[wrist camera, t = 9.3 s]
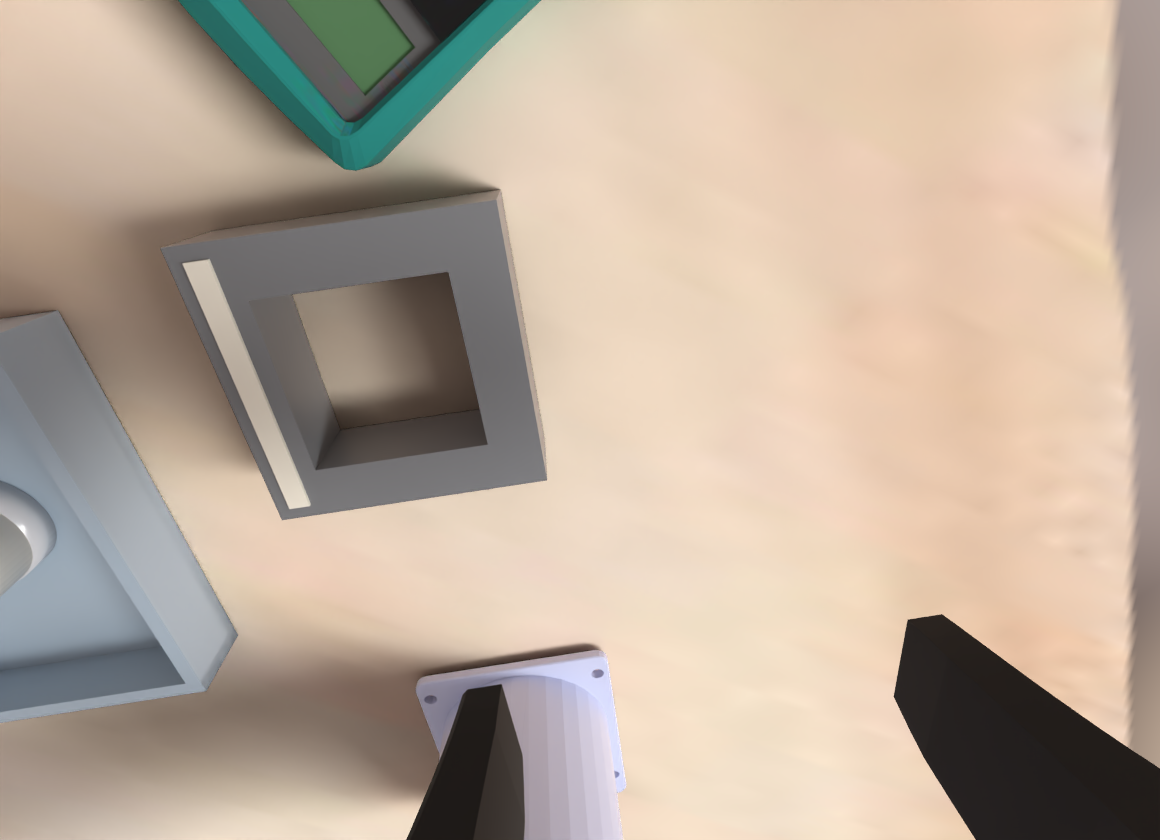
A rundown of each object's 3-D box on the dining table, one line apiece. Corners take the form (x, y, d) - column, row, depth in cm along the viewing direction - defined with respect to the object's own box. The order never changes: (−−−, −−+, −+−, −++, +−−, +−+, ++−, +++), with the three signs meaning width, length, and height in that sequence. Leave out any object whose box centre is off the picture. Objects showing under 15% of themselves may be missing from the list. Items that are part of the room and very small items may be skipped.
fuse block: (545, 440, 20) (547, 481, 17) (309, 475, 20) (280, 521, 17) (500, 189, 16) (496, 200, 14) (211, 231, 16) (157, 248, 14)
